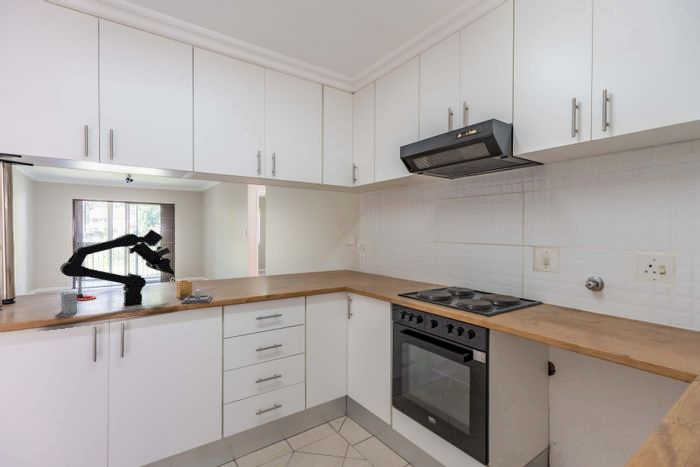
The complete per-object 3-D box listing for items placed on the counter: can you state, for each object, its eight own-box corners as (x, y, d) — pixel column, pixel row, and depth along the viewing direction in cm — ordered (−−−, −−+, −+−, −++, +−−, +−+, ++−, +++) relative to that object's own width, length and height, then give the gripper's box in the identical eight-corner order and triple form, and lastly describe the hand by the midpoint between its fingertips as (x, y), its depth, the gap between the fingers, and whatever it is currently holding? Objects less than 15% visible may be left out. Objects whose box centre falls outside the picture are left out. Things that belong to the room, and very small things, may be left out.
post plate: (181, 303, 157) (181, 293, 157) (187, 298, 169) (187, 288, 169) (208, 302, 160) (208, 292, 160) (212, 297, 172) (212, 287, 172)
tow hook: (100, 298, 169) (86, 297, 171) (101, 274, 168) (87, 273, 170) (83, 302, 160) (69, 300, 163) (84, 276, 160) (70, 275, 162)
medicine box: (77, 312, 139) (77, 293, 139) (63, 314, 136) (63, 294, 136) (74, 309, 144) (74, 290, 144) (61, 311, 141) (60, 292, 141)
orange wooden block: (180, 298, 169) (180, 282, 169) (176, 296, 173) (176, 281, 173) (192, 296, 173) (192, 281, 173) (188, 295, 177) (188, 279, 177)
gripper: (166, 242, 157) (189, 262, 166) (152, 240, 169) (174, 260, 178) (148, 259, 151) (172, 279, 160) (135, 256, 163) (158, 275, 172)
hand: (170, 273), depth 168 cm, fingers open, 9 cm apart
